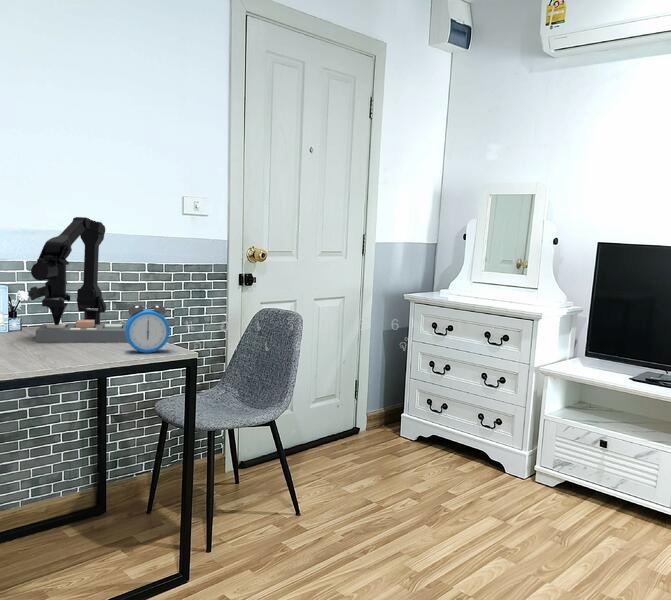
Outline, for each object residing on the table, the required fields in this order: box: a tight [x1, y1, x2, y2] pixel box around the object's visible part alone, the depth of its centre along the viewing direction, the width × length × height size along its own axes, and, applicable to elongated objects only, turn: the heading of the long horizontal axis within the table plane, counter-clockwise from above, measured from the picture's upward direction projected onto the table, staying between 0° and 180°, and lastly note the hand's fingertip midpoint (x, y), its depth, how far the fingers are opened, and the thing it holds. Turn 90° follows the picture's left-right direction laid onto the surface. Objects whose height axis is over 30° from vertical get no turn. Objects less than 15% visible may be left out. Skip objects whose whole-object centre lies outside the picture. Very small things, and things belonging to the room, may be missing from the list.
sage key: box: [104, 323, 123, 328], centre depth 213 cm, size 5×5×4 cm
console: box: [35, 323, 128, 344], centre depth 209 cm, size 13×28×4 cm, turn 106°
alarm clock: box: [124, 303, 171, 354], centre depth 192 cm, size 13×6×15 cm, turn 112°
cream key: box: [46, 322, 67, 328], centre depth 208 cm, size 5×5×4 cm
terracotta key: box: [75, 319, 95, 328], centre depth 210 cm, size 5×5×4 cm
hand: (56, 324), depth 207 cm, fingers closed, pressing on cream key
